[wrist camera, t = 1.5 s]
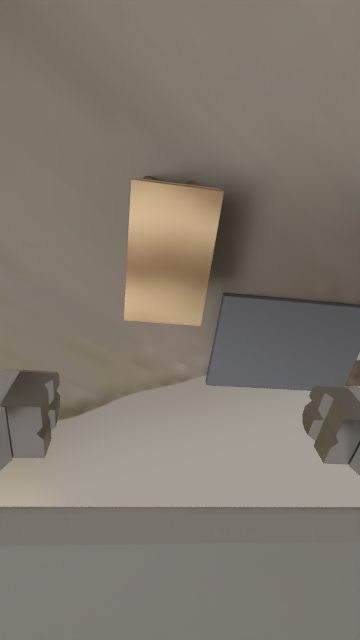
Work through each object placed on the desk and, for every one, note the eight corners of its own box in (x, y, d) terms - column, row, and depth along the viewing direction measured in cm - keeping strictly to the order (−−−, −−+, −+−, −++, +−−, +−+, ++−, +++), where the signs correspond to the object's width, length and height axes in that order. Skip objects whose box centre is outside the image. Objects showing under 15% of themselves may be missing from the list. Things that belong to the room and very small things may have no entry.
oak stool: (137, 171, 29) (131, 179, 20) (202, 179, 30) (223, 191, 21) (131, 275, 34) (123, 320, 25) (188, 281, 35) (200, 325, 26)
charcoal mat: (374, 306, 38) (378, 309, 37) (338, 388, 43) (341, 392, 42) (223, 293, 36) (224, 295, 35) (205, 381, 41) (206, 385, 40)
